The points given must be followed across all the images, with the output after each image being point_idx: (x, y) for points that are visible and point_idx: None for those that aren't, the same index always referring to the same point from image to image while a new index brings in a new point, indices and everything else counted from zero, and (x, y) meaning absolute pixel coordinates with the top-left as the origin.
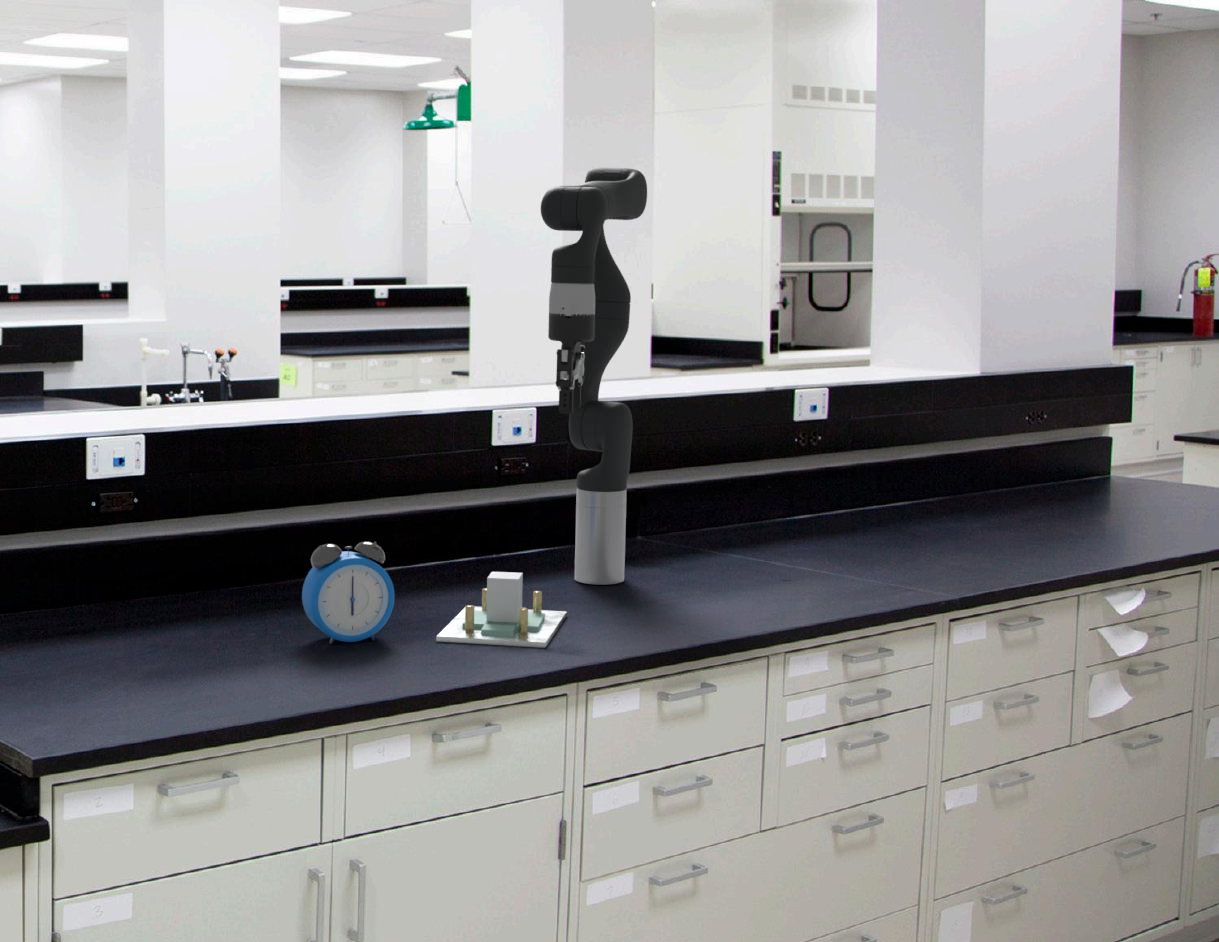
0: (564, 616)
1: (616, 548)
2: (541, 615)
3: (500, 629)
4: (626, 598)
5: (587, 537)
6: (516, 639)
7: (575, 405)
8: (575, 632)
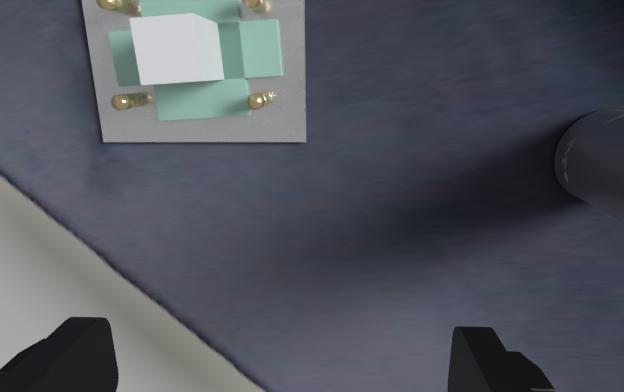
0: (282, 141)
1: (604, 209)
2: (233, 112)
3: (120, 63)
4: (455, 217)
5: (618, 154)
6: (104, 95)
7: (455, 388)
8: (209, 169)
